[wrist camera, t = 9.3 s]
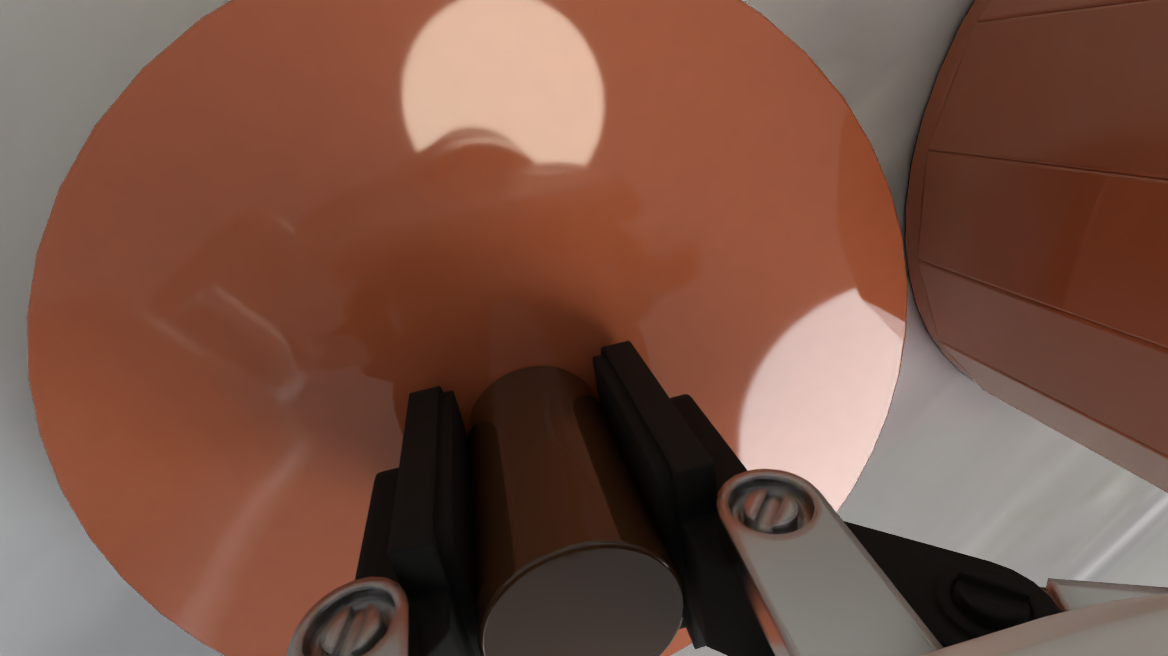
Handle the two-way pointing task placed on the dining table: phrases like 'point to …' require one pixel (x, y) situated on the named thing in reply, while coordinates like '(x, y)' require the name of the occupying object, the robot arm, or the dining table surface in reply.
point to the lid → (453, 297)
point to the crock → (1052, 218)
